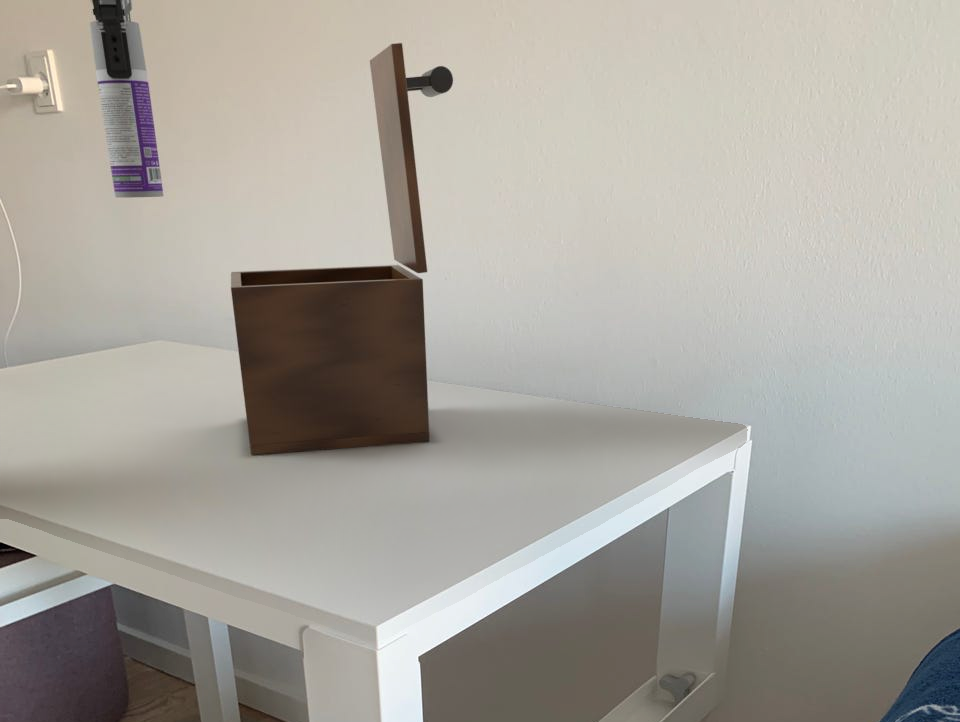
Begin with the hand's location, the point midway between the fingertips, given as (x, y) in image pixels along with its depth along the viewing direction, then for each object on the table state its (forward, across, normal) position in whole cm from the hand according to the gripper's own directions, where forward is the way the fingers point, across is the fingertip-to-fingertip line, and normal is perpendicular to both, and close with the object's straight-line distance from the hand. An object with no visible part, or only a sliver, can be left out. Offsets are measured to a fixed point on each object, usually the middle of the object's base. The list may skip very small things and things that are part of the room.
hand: (122, 79), depth 96 cm
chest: (+29, +28, +15) cm, 43 cm away
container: (+11, 0, 0) cm, 11 cm away
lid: (+8, +28, +22) cm, 36 cm away
